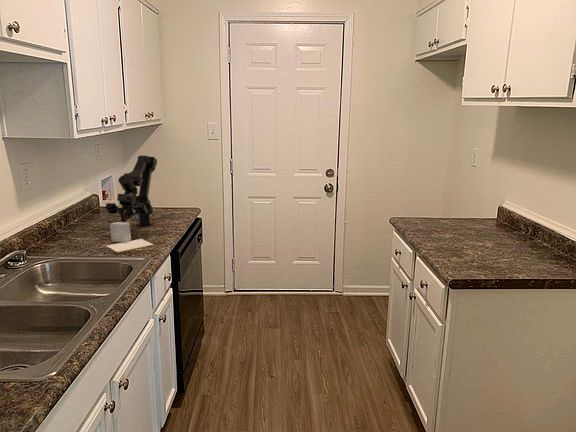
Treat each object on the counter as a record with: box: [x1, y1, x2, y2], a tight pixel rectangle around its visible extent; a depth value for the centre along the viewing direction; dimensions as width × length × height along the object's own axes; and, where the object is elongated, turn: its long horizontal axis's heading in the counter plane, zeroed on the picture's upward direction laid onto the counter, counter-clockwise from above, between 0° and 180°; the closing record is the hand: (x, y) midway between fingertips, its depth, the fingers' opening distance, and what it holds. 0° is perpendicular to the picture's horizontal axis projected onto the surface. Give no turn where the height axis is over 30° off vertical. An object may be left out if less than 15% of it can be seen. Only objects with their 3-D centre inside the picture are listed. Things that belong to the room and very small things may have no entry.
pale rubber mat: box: [106, 238, 154, 253], centre depth 213 cm, size 12×17×1 cm
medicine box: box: [109, 221, 132, 243], centre depth 218 cm, size 8×4×9 cm, turn 74°
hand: (122, 223), depth 221 cm, fingers closed
